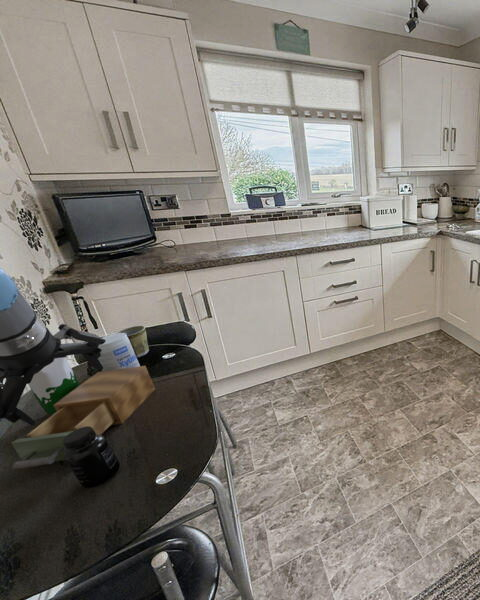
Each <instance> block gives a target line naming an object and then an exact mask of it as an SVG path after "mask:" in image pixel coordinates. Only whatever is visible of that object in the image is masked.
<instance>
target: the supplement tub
mask: <svg viewBox="0 0 480 600" xmlns="http://www.w3.org/2000/svg"><path fill="white" fill-rule="evenodd" d="M115 333H116V332H115ZM115 333H112V334H108V335H104V336H102V337H101V338H103V339H105V340H106V341H105V343H104V344H102V345H99V346H98V348H100V349H102V351H101V352H100V354H101V356H100V357H99V358H98V360H99V361H100V363H101V365H102V366H103V369H102V370H101V372H102V371H109V370H117V369H124V368H132V367H139V366H141V365H140V363H139V360H138V358H136V355H135V353H134V350H133V348H132V346H131V343H130V341H129V339H128V337H127V335H126V334H125V333H116V334H115Z"/></svg>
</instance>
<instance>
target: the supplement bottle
mask: <svg viewBox="0 0 480 600" xmlns="http://www.w3.org/2000/svg"><path fill="white" fill-rule="evenodd" d="M62 442H63V444H64V446H65V448H66V449H67V450H66V452H65V454H64V459H65V460H64V461H65V462H66V464H67V465H68V467H69V469H70V470H71V472H72V473H73V475H74V477H75V478H76V480H77V481H78V482H79V484H80V486H82V487H83V488H86V489H90V488H91V489H92V488H95V487H98V486H101V485H103V484H105V483H107V482H108V481H110V480H111V479H112V478H113V477H114V476H115V475H116V474H117V473H118V472H119V470H120V468H121V463H120V461H119V459H118V458H117V455H116V454H115V452H114V450H113V449H112V447H111V445H110V443H109V442H108V440H107V438H106V437H105V436H104V435H102V434H101V435H98V434H96V433H95V431H94V430H93V428H92V427H90V426H89V427H88V426H87V427H82V428H79V429H77V430H75V431H73V432H71V433H69V434H68V435H67V436H65V438H64V439H63V441H62Z"/></svg>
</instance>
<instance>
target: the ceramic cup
mask: <svg viewBox="0 0 480 600" xmlns="http://www.w3.org/2000/svg"><path fill="white" fill-rule="evenodd" d="M116 333H125V334H126V335H127V337H128V339H129V341H130V343H131V346H132V348H133V350H134V353H135V355H136V358H137V359H138V358H140V357H143V356H145V355H147V354H148V353H149V351H150V347H149V343H148V342H149V341H148V338H147V337H148V336H147V330H146V327H145V326H144V325H136V326H135V325H133V326H130V327H127V328H123V329H121V330H118V331H117V332H115V333H114V334H116Z"/></svg>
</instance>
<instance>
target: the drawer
mask: <svg viewBox="0 0 480 600" xmlns="http://www.w3.org/2000/svg"><path fill="white" fill-rule="evenodd" d="M115 420H116V418H115V416H114V414H113V412H112V410H111V408H110V406H109V404H108V402H107V401H102V402H95V403H87V404H80V405H73V406H66V407H62V408H61V409H60V410H58V411H57V412H56V413H54V414H53V415H50V416H49V417H48V418H47V419H45V420H44V421H43V422H41V423H40V424H39V425H38V426H36V427H35V428H34V429H33V430H31V431H30V432H29V433H27V434H26V437H23V438H17V439H15V440H14V441H12V442H11V445H12V446H13V448H14V450H15V451H16V453H17V454H18V456H19V457H20V459H21V460H18V461H15V463H14V464H13V469H14V470H19V469H20V470H21V469H27V468H33V467H39V466H45V465H52V464H53V463H54V462H60V461H61V462H62V461H65V459H64V454H65V452H66V450H67V449H66V448H65V446H64V444H63V442H62V441H63V439H64V438H65V436H67V435H68V434H69V433H71V432H73V431H75V430H77V429H79V428H82V427H87V426H88V427H89V426H90V427H92V428H93V430H94V431H95V433H96V434H98V435H102V434H104V432H105V431H106V430H108V428H109V427H110V425H111V424H112V423H113V422H114V421H115ZM111 426H112V425H111Z"/></svg>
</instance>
